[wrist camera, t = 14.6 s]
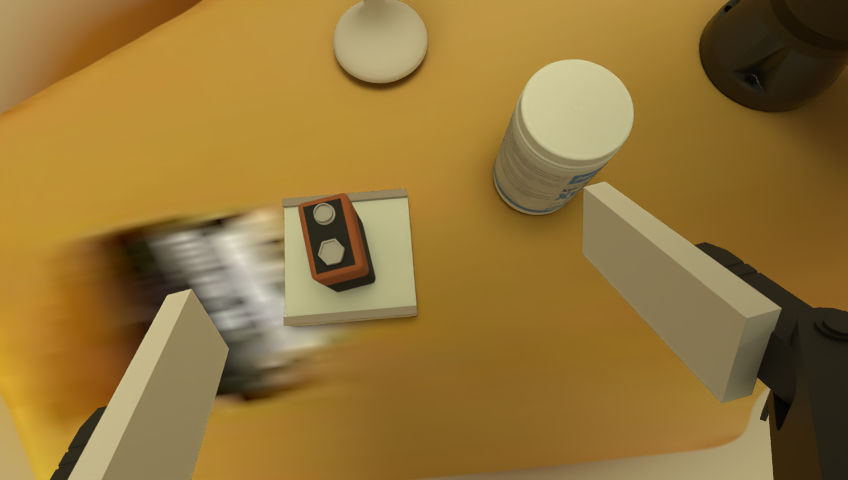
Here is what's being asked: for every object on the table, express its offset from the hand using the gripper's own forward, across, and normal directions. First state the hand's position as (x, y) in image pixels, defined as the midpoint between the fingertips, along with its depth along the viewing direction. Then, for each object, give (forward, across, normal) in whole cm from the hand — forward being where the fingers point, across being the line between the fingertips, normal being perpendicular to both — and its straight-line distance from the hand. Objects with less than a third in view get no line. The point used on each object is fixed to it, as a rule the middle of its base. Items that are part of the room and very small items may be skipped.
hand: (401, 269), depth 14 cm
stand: (+28, -5, -17) cm, 33 cm away
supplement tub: (+31, +17, -14) cm, 38 cm away
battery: (+26, -5, -15) cm, 30 cm away
